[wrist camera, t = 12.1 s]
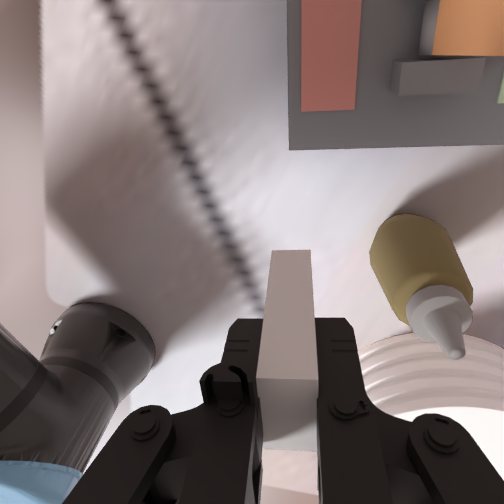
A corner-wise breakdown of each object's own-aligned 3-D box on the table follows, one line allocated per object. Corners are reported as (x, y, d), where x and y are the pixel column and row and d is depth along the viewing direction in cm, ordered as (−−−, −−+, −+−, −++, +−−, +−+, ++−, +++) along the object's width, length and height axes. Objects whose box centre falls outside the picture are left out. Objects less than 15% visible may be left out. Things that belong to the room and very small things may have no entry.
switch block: (292, 129, 38) (286, 160, 28) (291, -77, 30) (282, -129, 21) (509, 122, 35) (583, 153, 26) (570, -109, 27) (708, -187, 18)
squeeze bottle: (432, 192, 39) (513, 293, 24) (448, 255, 42) (528, 381, 27) (355, 217, 42) (382, 324, 26) (376, 276, 45) (411, 402, 29)
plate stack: (290, 368, 54) (286, 442, 45) (500, 300, 44) (554, 375, 35) (369, 477, 65) (379, 557, 55) (554, 441, 55) (608, 531, 45)
